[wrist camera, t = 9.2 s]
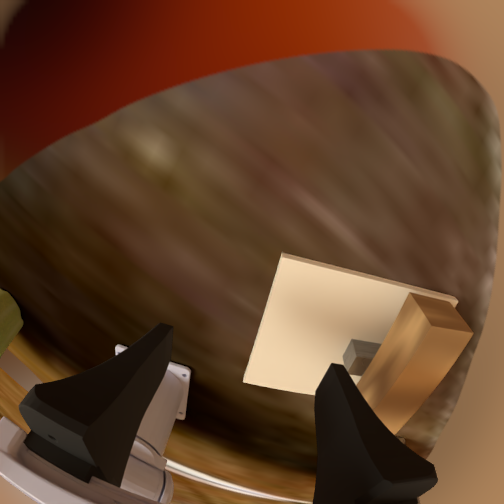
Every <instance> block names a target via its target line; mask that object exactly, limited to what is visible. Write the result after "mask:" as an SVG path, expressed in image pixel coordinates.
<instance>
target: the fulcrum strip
mask: <svg viewBox="0 0 504 504" xmlns="http://www.w3.org/2000/svg"><path fill="white" fill-rule="evenodd" d="M381 345H382V344H379V343H373V342H367V341H361V340H356V339H351V341H350V343H349V345H348V347H347V349H346V350H345V352H344V354H343V356H342V357H343V362H344V366H345V368H346V370H347V371H348V373H349V375H356V376H363V374H364V373H365V371H366V369H367V368H368V366H369V365H370V363H371V361H372V360H373V358H374V356H375V355H376V353H377V351H378V350H379V348H380V346H381Z"/></svg>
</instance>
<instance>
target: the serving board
mask: <svg viewBox="0 0 504 504" xmlns="http://www.w3.org/2000/svg"><path fill="white" fill-rule="evenodd" d="M409 292H411V293H415V294H419V295H424V296H428V297H432V298H436V299H440V300H444V301H448V302H450V303H451V304H452V306H453V307H454V308H455V307H456V305H457V303H458V300H457V299H456V298H455V297H454V296H451V295H447V294H443V293H439V292H435V291H431V290H428V289H424V288H420V287H416V286H412V285H408V284H404V283H400V282H397V281H393V280H389V279H385V278H381V277H377V276H373V275H369V274H365V273H361V272H357V271H354V270H350V269H346V268H342V267H338V266H334V265H330V264H326V263H322V262H318V261H314V260H310V259H306V258H302V257H298V256H294V255H290V254H286V253H282V254H281V257H280V261H279V264H278V267H277V271H276V274H275V278H274V281H273V284H272V288H271V291H270V294H269V298H268V301H267V304H266V308H265V311H264V314H263V318H262V321H261V324H260V327H259V330H258V334H257V337H256V340H255V343H254V346H253V350H252V353H251V356H250V359H249V362H248V365H247V368H246V372H245V375H244V379H243V382H245V383H250V384H254V385H259V386H264V387H269V388H274V389H280V390H285V391H291V392H297V393H304V394H310V395H315V391H316V389H317V387H318V386H319V384H320V382H321V380H322V379H323V377H324V375H325V373H326V371H327V370H328V368H329V366H330V364H331V363H336V364H342V365H344V362H343V357H342V356H343V354H344V352H345V350H346V349H347V347H348V345H349V343H350V341H351V339H356V340H361V341H367V342H373V343H379V344H382V343H383V341H384V339H385V338H386V336H387V334H388V332H389V330H390V329H391V327H392V325H393V323H394V321H395V319H396V317H397V315H398V314H399V312H400V310H401V308H402V306H403V304H404V302H405V300H406V298H407V296H408V294H409ZM344 367H345V366H344ZM350 376H351V378H352V380H353V381H354V383H355V384H356V385H357V383H358V382H359V380H360V379H361V377H362V376H356V375H350Z"/></svg>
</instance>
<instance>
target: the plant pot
mask: <svg viewBox="0 0 504 504" xmlns="http://www.w3.org/2000/svg"><path fill="white" fill-rule="evenodd" d="M22 326H23V320H22V319H21V313H20V309H19V307H18V305H17V303H16V302H15V300H14V299H13V298H12V296H11V295H10V294H9V293H8V292H7V291H3V290H1V288H0V358H1V356H2V354H3V353H4V351H5V350H6V348H7V347H8V346H9V344H10V343H11V341H12V340H13V338H14V337H15V336H16V334H17V333H18V332H19V330H20V329H21V328H22Z"/></svg>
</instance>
